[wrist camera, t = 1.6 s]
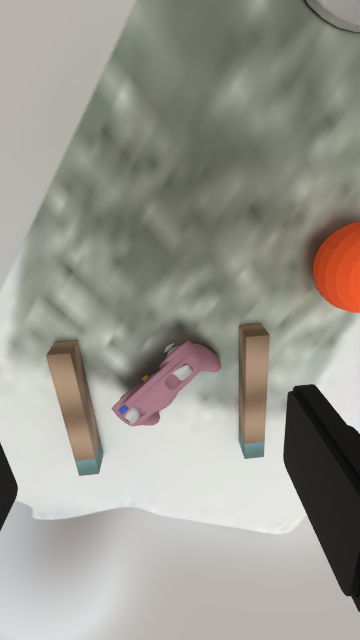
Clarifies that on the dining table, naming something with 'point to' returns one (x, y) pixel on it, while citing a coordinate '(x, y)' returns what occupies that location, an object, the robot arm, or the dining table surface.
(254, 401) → the channel
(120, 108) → the dining table surface
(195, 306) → the dining table surface
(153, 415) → the video game controller
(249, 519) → the dining table surface
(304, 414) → the robot arm
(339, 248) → the clementine
